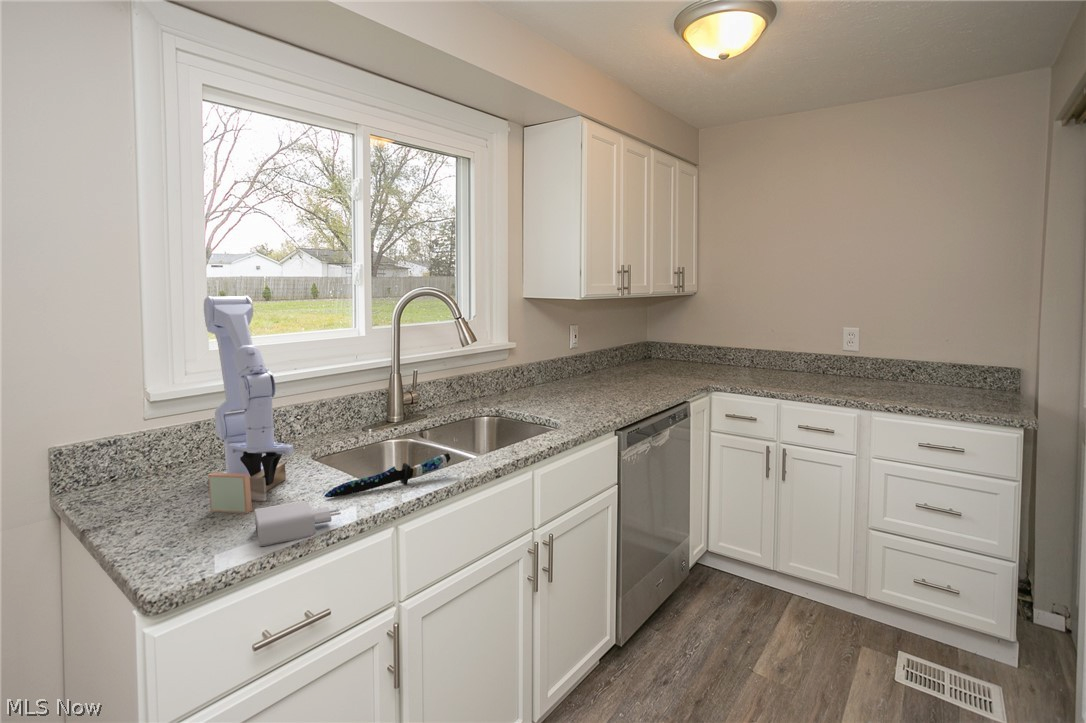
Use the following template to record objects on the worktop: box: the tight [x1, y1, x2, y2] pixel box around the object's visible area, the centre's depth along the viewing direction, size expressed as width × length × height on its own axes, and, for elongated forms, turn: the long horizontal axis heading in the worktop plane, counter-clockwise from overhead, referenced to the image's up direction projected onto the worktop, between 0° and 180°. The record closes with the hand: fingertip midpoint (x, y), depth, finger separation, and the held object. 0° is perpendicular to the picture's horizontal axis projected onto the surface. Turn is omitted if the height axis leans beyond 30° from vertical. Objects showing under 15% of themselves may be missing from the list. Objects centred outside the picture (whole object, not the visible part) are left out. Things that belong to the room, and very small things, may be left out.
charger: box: [254, 500, 342, 548], centre depth 113 cm, size 5×9×15 cm
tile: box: [207, 471, 253, 514], centre depth 121 cm, size 2×8×8 cm, turn 85°
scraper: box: [250, 462, 287, 502], centre depth 134 cm, size 14×8×5 cm, turn 175°
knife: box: [324, 453, 451, 498], centre depth 137 cm, size 31×3×4 cm, turn 120°
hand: (263, 483), depth 134 cm, fingers closed on scraper, 2 cm apart
